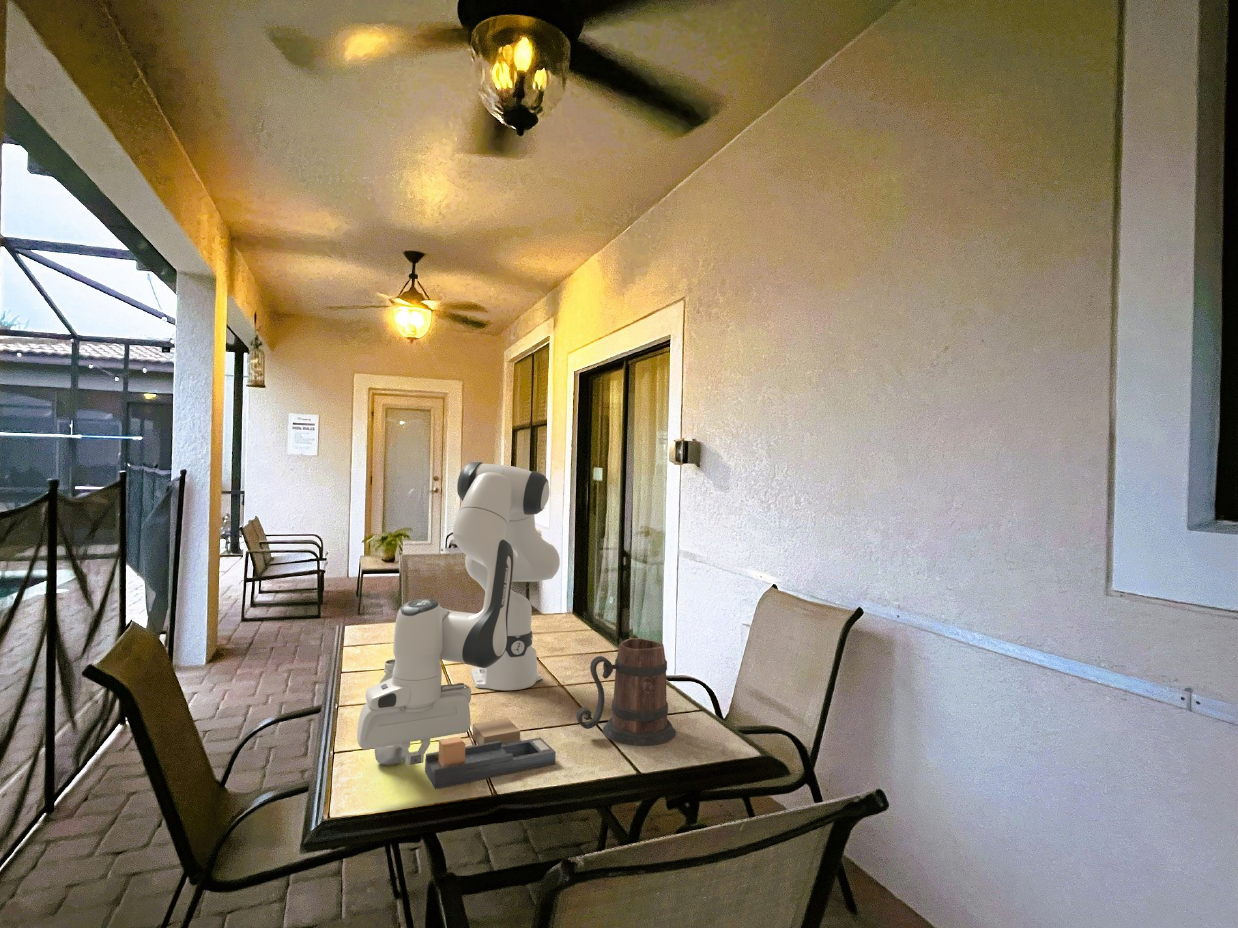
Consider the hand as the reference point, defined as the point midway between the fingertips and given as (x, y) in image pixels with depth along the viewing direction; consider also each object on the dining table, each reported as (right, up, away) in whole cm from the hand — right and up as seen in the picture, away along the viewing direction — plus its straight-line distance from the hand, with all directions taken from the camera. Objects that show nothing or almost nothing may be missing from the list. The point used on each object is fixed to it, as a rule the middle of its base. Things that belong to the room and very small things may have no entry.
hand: (414, 762), depth 123 cm
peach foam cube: (+6, -2, +3) cm, 7 cm away
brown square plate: (+11, -4, +20) cm, 24 cm away
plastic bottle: (-7, -4, +9) cm, 12 cm away
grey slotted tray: (+13, -4, +7) cm, 15 cm away
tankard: (+40, -6, +27) cm, 48 cm away
